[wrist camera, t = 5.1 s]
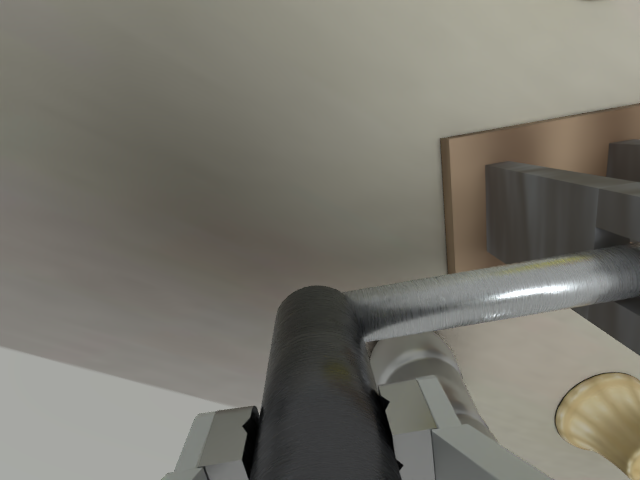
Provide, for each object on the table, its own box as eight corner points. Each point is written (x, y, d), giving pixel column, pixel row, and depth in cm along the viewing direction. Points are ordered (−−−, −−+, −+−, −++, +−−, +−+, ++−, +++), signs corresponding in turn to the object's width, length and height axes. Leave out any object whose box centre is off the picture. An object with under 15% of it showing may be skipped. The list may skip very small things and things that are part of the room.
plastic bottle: (446, 312, 27) (771, 740, 8) (439, 383, 29) (683, 853, 10) (365, 315, 27) (505, 759, 8) (363, 386, 29) (471, 871, 10)
